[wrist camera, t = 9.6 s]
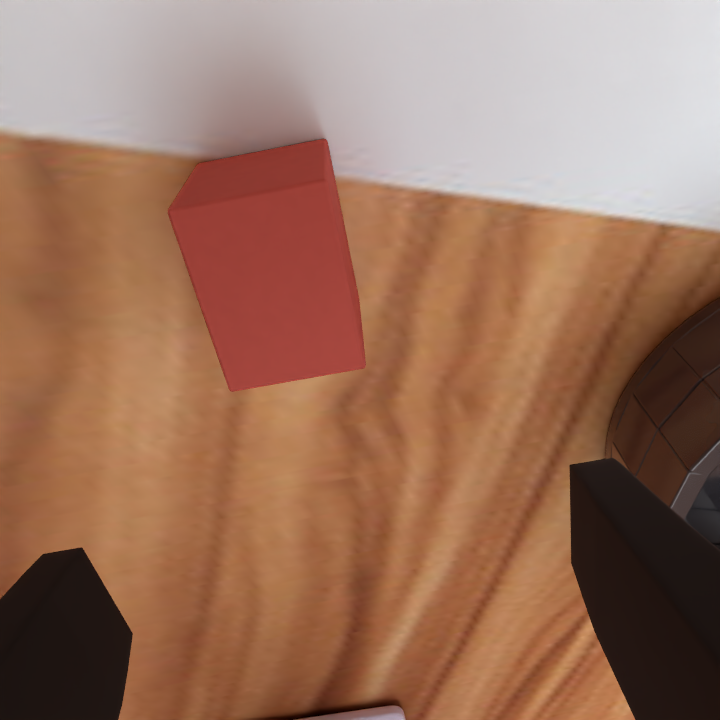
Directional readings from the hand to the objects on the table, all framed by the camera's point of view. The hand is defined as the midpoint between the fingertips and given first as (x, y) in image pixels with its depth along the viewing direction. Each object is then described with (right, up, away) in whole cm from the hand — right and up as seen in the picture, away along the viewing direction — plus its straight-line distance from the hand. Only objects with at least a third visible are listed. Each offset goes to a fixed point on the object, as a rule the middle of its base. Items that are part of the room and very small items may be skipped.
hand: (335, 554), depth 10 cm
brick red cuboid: (-2, +6, +7) cm, 9 cm away
